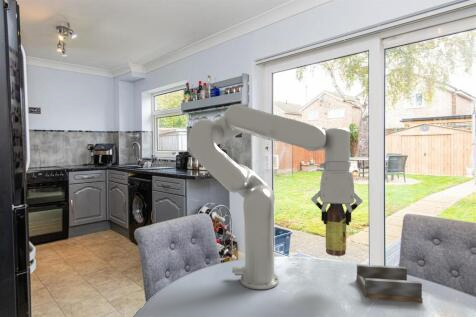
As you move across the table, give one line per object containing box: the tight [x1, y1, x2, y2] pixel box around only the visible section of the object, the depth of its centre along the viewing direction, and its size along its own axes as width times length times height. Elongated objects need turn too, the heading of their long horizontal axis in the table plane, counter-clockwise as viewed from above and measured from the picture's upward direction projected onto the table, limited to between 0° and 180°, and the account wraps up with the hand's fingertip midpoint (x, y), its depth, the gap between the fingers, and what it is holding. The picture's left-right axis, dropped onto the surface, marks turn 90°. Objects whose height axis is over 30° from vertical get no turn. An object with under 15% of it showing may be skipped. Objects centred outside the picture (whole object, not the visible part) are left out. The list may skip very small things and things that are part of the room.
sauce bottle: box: [325, 204, 347, 257], centre depth 97 cm, size 7×6×20 cm
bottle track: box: [356, 264, 423, 303], centre depth 94 cm, size 15×14×5 cm
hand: (336, 223), depth 97 cm, fingers closed on sauce bottle, 6 cm apart
